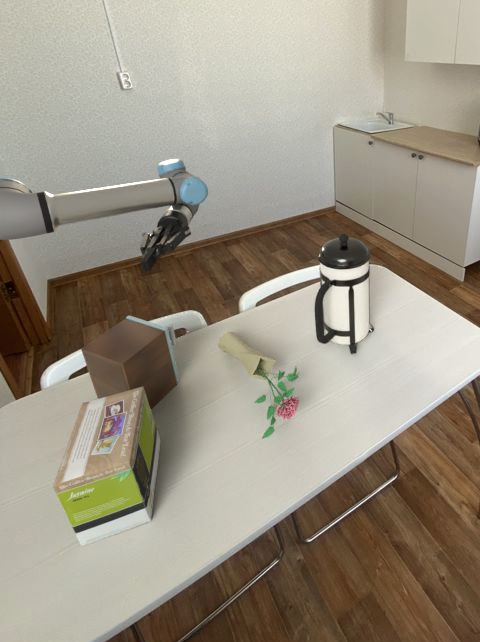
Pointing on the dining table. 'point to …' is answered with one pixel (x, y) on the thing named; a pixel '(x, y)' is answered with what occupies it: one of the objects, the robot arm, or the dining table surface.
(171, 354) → the door
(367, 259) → the coffee press
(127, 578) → the dining table surface
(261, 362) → the flower vase
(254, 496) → the dining table surface
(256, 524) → the dining table surface
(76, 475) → the tea box
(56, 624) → the dining table surface
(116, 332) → the cabinet
